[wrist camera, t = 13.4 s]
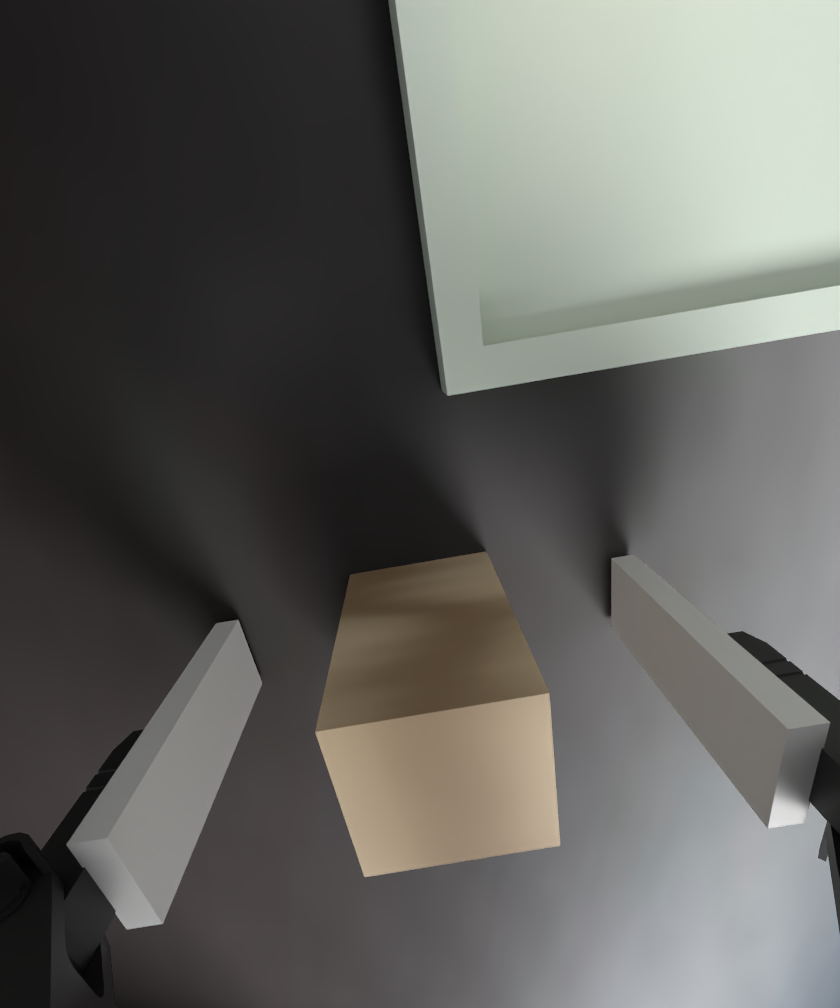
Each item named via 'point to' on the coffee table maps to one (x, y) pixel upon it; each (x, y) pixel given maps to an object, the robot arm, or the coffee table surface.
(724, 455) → the coffee table surface
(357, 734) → the oak block
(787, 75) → the tray
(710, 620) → the robot arm
